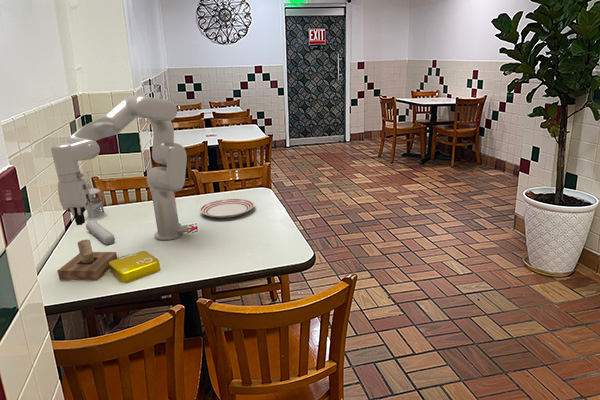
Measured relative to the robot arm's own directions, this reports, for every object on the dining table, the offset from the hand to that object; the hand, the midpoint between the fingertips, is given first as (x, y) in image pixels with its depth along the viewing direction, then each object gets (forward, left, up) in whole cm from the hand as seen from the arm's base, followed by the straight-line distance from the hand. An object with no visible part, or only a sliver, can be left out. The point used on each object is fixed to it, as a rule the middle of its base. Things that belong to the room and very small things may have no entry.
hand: (80, 223), depth 175 cm
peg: (0, 0, -19) cm, 19 cm away
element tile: (-18, 0, -20) cm, 27 cm away
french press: (+29, -59, -20) cm, 68 cm away
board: (0, 0, -19) cm, 19 cm away
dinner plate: (-38, -64, -20) cm, 77 cm away
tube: (+13, -32, -20) cm, 40 cm away
